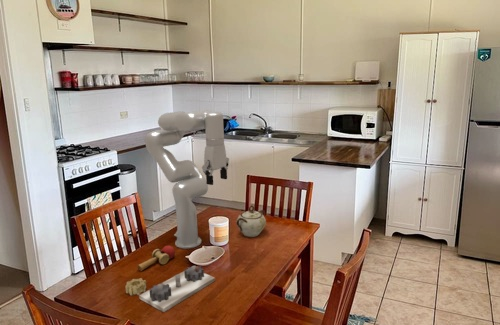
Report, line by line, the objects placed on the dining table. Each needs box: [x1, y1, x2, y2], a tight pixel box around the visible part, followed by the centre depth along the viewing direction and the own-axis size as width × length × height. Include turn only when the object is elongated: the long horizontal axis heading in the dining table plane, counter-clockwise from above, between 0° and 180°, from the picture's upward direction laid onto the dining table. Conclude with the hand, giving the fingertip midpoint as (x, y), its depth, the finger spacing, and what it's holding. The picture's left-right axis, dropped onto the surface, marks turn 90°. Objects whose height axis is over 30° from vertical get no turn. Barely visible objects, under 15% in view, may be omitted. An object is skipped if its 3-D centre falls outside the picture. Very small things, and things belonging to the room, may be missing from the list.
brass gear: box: [125, 277, 147, 296], centre depth 153 cm, size 7×7×3 cm
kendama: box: [137, 245, 176, 272], centre depth 174 cm, size 8×6×18 cm
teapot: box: [236, 205, 267, 238], centre depth 201 cm, size 20×15×15 cm
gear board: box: [138, 265, 216, 313], centre depth 152 cm, size 14×26×6 cm, turn 141°
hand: (217, 181), depth 169 cm, fingers open, 9 cm apart
